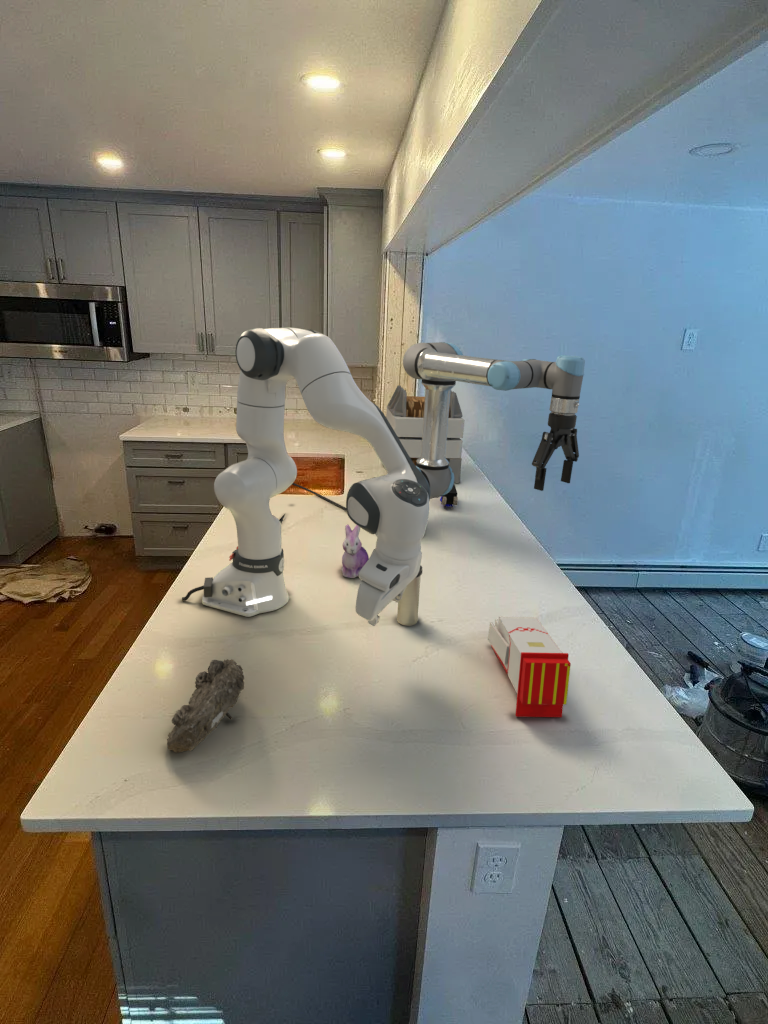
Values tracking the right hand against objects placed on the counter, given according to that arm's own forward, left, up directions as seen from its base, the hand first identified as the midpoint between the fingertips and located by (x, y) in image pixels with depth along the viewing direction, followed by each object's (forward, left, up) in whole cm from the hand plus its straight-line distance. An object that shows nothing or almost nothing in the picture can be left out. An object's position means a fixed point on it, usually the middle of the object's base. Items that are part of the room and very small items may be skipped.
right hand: (552, 485), depth 166 cm
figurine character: (-60, +23, -28) cm, 70 cm away
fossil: (0, -107, -28) cm, 110 cm away
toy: (+29, -48, -28) cm, 63 cm away
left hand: (+9, -72, -13) cm, 73 cm away
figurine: (-33, -46, -28) cm, 63 cm away
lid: (-3, -52, -13) cm, 54 cm away
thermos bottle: (-3, -52, -28) cm, 60 cm away
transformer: (-101, +46, -28) cm, 115 cm away
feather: (-85, -39, -28) cm, 98 cm away
